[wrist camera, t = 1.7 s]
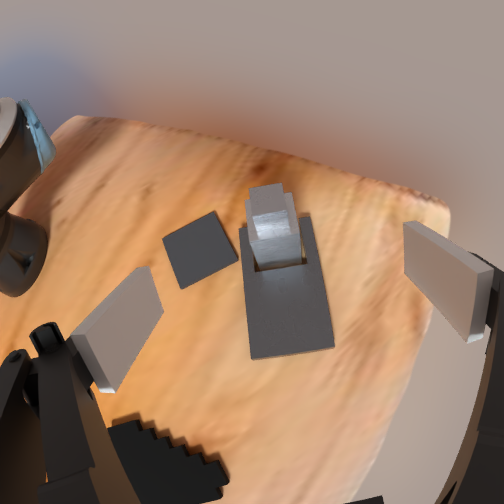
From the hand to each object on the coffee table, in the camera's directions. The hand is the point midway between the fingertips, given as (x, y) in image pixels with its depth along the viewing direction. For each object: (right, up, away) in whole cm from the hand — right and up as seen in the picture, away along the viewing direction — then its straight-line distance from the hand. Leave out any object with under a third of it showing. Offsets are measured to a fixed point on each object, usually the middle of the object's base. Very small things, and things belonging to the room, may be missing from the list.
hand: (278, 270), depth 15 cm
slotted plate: (+2, -3, +21) cm, 21 cm away
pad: (-8, +1, +25) cm, 27 cm away
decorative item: (-14, -29, +13) cm, 35 cm away
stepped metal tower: (+2, +1, +23) cm, 23 cm away
